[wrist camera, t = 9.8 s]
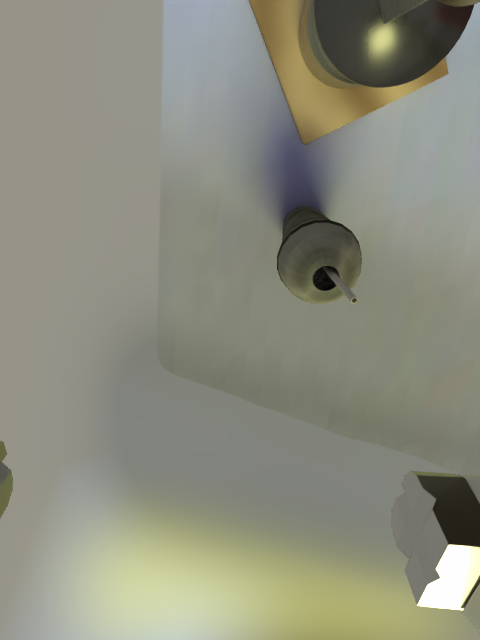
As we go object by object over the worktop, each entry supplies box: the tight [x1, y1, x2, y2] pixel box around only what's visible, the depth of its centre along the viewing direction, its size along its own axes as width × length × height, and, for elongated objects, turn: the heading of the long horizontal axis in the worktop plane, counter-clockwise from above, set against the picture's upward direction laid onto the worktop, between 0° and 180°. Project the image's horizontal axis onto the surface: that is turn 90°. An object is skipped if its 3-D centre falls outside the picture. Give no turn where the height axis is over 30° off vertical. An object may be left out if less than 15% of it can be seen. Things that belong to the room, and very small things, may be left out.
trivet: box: [249, 0, 448, 145], centre depth 37 cm, size 14×14×2 cm
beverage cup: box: [277, 206, 362, 304], centre depth 37 cm, size 7×7×20 cm
